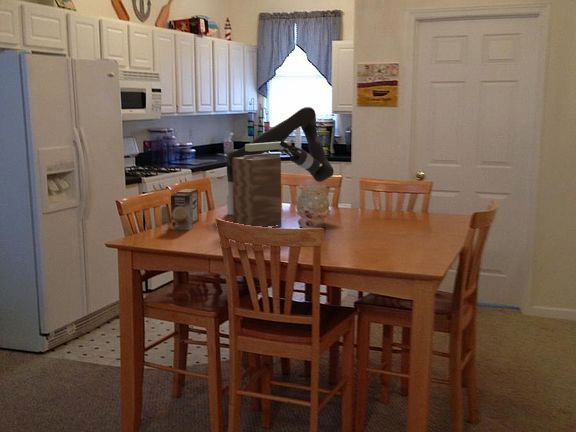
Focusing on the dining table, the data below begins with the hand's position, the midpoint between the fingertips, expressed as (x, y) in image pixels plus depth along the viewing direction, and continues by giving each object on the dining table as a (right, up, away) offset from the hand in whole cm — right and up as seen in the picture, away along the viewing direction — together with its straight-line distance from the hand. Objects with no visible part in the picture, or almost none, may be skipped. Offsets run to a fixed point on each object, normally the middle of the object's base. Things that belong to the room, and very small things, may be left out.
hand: (278, 142), depth 298 cm
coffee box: (-44, -40, -1) cm, 60 cm away
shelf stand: (-10, -39, +4) cm, 40 cm away
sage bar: (-4, -4, -3) cm, 6 cm away
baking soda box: (-44, -37, +13) cm, 59 cm away
